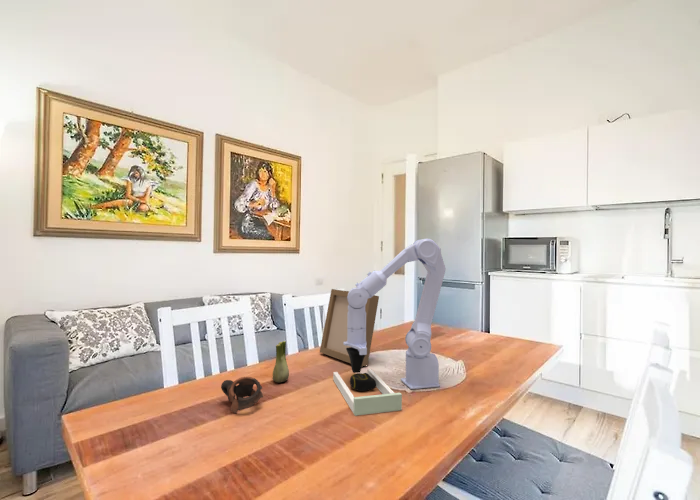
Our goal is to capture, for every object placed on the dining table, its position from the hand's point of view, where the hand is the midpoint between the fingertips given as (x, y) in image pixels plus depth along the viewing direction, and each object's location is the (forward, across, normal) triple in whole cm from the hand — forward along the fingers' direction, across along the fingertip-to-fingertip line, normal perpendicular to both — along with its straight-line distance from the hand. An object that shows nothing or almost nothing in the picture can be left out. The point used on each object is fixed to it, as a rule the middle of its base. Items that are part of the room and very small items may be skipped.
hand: (356, 372), depth 108 cm
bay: (+3, +8, 0) cm, 9 cm away
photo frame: (+4, -25, +6) cm, 26 cm away
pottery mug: (+4, +7, -33) cm, 34 cm away
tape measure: (+4, +4, +1) cm, 6 cm away
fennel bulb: (+4, -7, -22) cm, 23 cm away
